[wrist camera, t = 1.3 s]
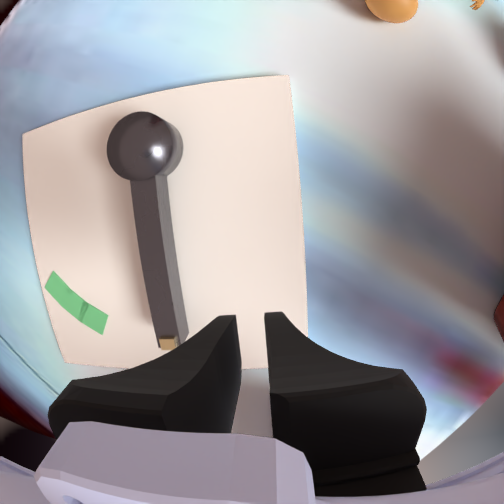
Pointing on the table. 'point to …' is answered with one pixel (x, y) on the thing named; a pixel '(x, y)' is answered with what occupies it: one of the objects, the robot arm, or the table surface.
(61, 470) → the robot arm
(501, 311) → the plant pot
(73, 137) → the dial board
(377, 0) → the figurine
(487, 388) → the table surface
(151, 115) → the lever
